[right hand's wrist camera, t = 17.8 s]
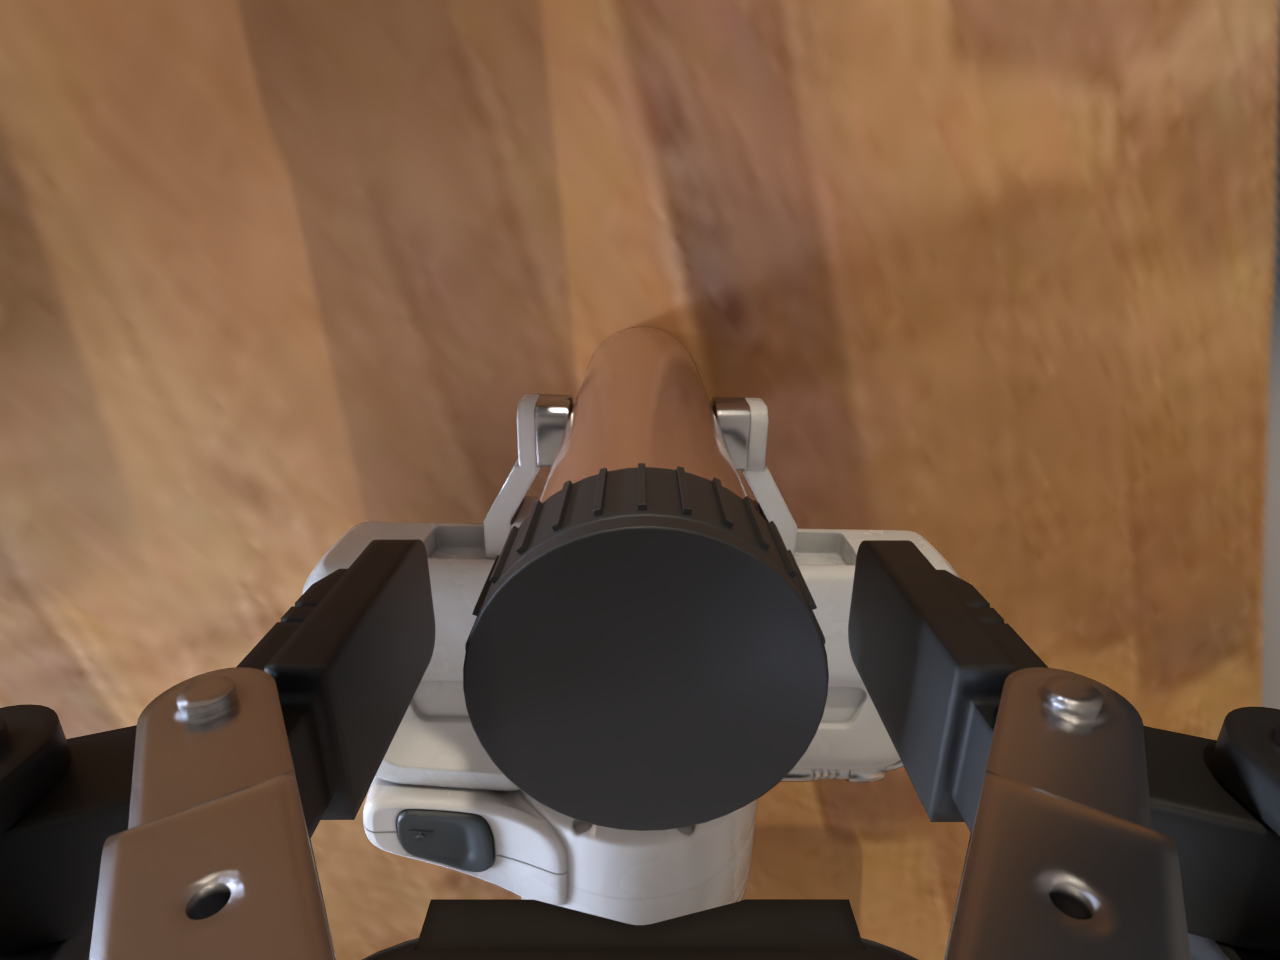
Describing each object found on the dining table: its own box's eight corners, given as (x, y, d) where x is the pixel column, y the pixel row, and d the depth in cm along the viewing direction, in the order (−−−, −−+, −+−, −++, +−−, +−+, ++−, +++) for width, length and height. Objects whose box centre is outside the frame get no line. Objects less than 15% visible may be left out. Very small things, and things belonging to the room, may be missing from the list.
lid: (479, 710, 12) (445, 815, 10) (503, 436, 10) (469, 492, 8) (761, 746, 12) (786, 854, 10) (832, 485, 10) (880, 551, 8)
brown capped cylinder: (591, 319, 25) (500, 500, 9) (705, 334, 25) (829, 538, 9) (580, 429, 27) (485, 763, 10) (688, 442, 27) (766, 791, 10)
